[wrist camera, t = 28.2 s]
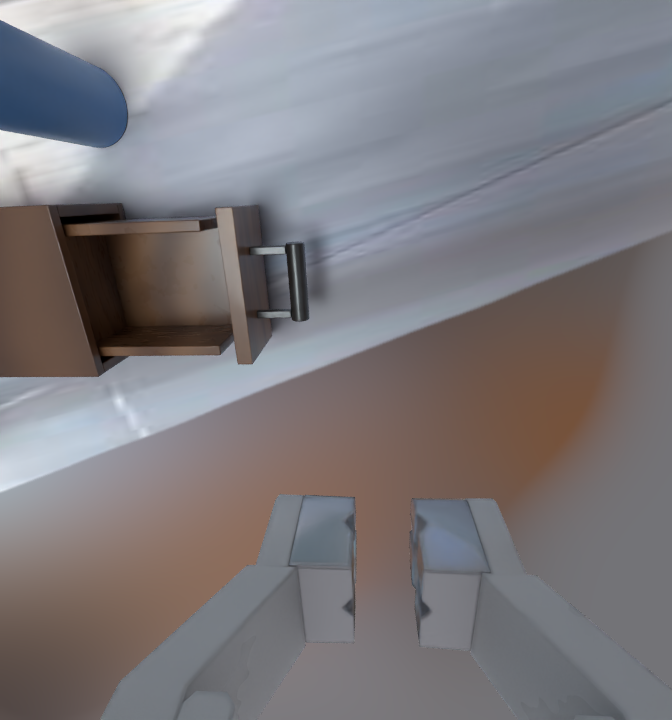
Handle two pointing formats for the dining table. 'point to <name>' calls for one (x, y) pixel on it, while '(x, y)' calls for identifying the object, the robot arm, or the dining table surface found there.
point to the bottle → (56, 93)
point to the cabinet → (46, 294)
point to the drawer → (182, 283)
